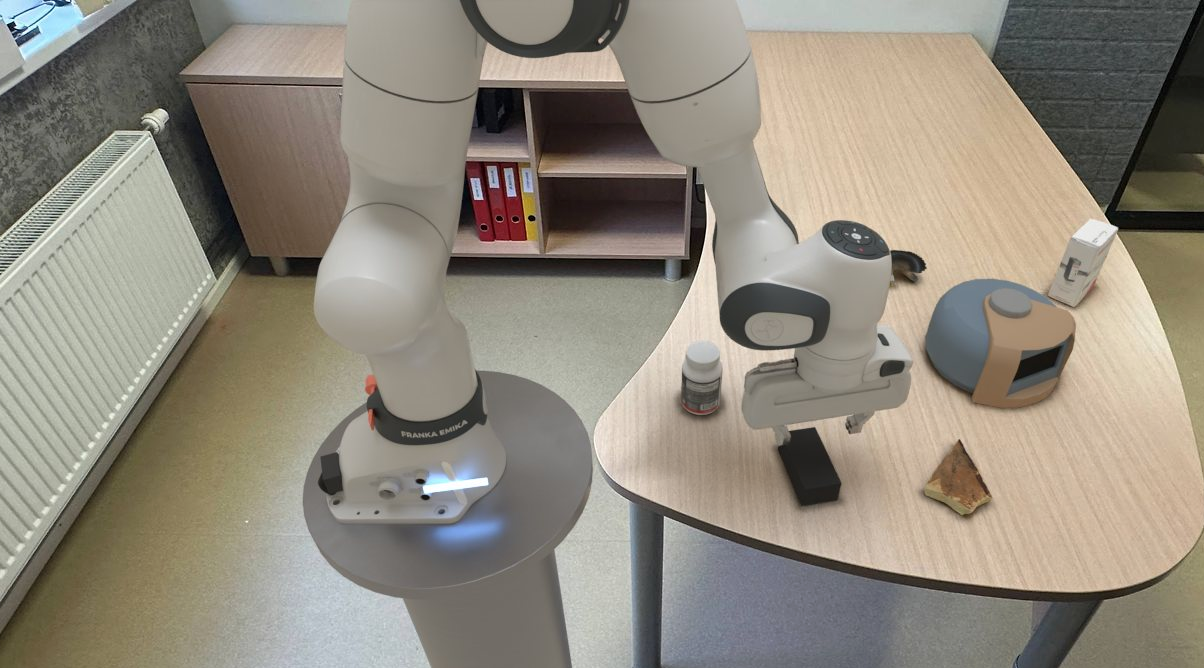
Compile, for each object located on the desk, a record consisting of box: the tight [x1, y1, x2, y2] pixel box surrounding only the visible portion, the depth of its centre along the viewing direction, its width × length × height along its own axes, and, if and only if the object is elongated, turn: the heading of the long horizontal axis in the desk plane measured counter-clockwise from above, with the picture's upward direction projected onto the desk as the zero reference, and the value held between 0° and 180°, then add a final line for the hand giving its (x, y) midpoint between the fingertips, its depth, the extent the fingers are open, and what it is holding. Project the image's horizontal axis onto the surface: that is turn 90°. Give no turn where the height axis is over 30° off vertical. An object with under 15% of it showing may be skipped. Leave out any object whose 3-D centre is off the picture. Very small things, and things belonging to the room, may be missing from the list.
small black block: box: [777, 426, 843, 507], centre depth 103 cm, size 5×10×4 cm, turn 12°
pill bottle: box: [680, 340, 724, 416], centre depth 111 cm, size 6×6×10 cm
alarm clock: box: [924, 278, 1077, 409], centre depth 117 cm, size 19×20×12 cm
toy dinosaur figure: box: [890, 249, 928, 288], centre depth 135 cm, size 8×7×9 cm
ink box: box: [1047, 218, 1119, 308], centre depth 131 cm, size 9×5×12 cm, turn 137°
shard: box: [924, 438, 993, 516], centre depth 103 cm, size 11×8×2 cm
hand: (817, 435), depth 99 cm, fingers open, 8 cm apart
